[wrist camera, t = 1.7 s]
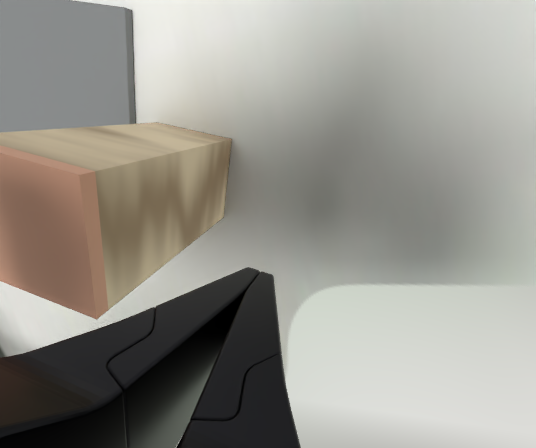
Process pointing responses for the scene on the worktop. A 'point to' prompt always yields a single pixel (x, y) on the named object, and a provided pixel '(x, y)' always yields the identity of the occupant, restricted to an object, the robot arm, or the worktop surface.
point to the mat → (65, 65)
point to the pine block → (104, 207)
